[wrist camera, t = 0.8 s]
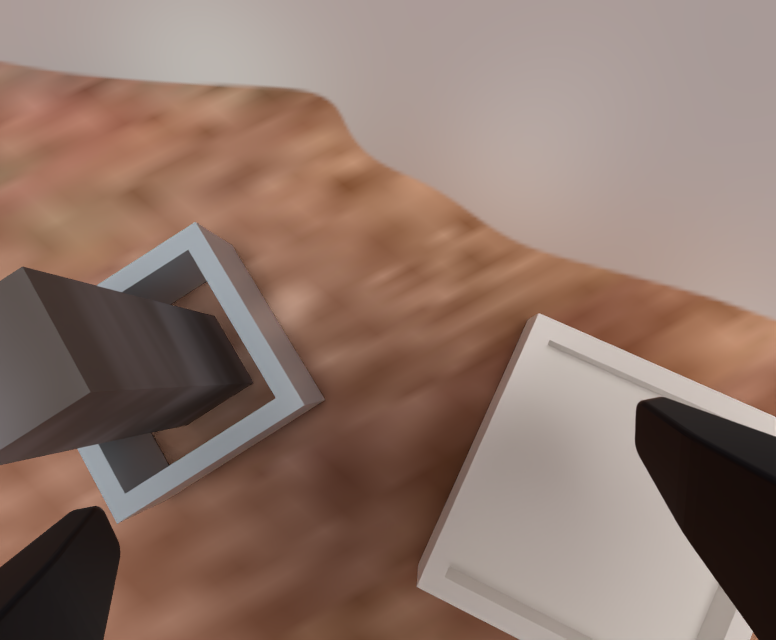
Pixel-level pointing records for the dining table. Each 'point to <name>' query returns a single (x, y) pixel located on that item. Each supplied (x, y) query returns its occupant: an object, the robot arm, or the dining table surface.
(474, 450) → the tray
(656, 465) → the robot arm
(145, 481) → the square frame
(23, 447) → the dark grey pillar
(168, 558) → the dining table surface
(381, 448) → the dining table surface
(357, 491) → the dining table surface
